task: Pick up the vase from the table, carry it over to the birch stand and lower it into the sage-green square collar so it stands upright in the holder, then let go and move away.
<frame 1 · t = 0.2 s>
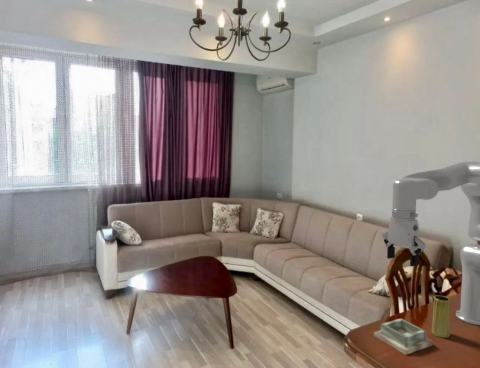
hand: (402, 261, 123), 31 cm above the table, tool pointing down, fingers open, 9 cm apart
vase stand: (402, 340, 128), on the table
vase: (440, 334, 133), on the table
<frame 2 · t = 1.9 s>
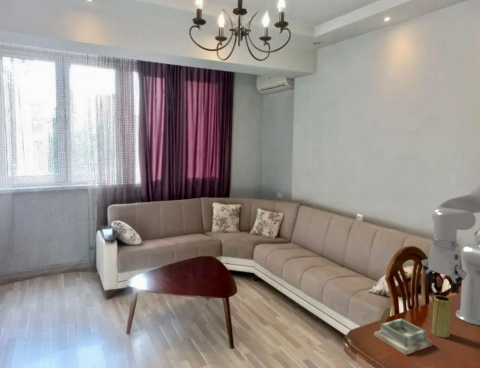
hand: (441, 288, 131), 18 cm above the table, tool pointing down, fingers open, 9 cm apart
nothing on the table moved.
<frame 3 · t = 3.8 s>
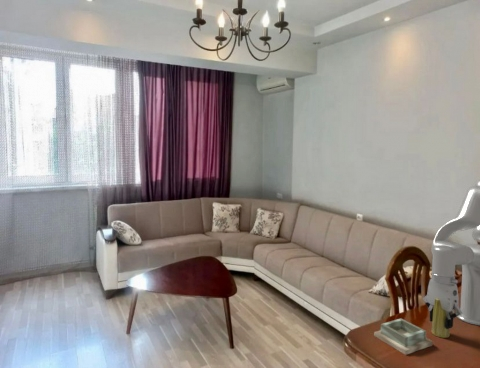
hand: (440, 323, 132), 4 cm above the table, tool pointing down, fingers closed on vase, 5 cm apart
vase: (440, 334, 133), on the table, touching gripper
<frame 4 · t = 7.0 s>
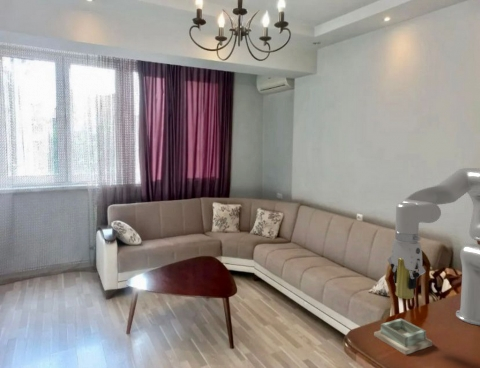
hand: (404, 285, 126), 21 cm above the table, tool pointing down, fingers closed on vase, 5 cm apart
vase: (404, 296, 127), point 17 cm above the table, touching gripper
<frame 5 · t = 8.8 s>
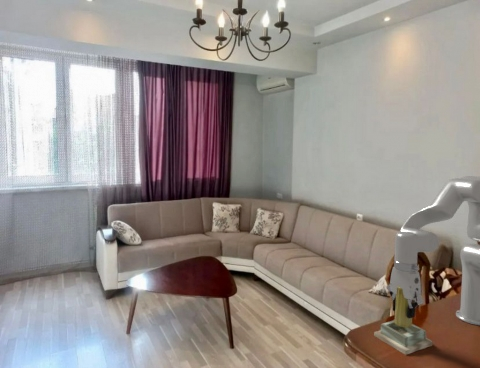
hand: (403, 313, 127), 10 cm above the table, tool pointing down, fingers closed on vase, 5 cm apart
vase: (402, 324, 128), point 6 cm above the table, touching gripper
when the fingers open (7 cm above the table, at t = 10.3 s): vase drops 2 cm, resting on vase stand.
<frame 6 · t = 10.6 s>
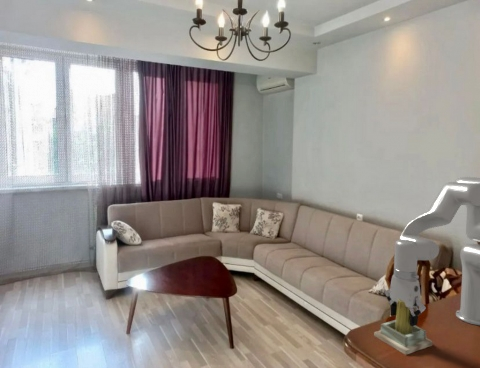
hand: (403, 319, 127), 8 cm above the table, tool pointing down, fingers open, 8 cm apart
vase: (403, 336, 128), point 1 cm above the table, touching vase stand
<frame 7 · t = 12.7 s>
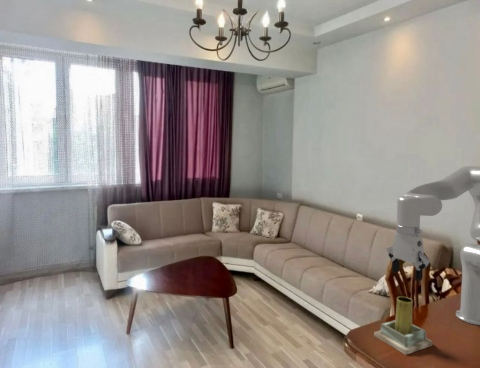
hand: (406, 275, 127), 24 cm above the table, tool pointing down, fingers open, 9 cm apart
nothing on the table moved.
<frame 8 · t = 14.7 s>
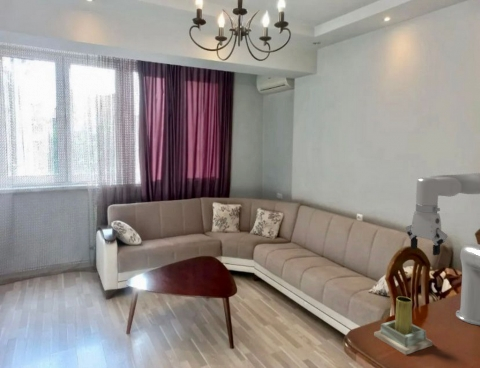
hand: (424, 251, 137), 30 cm above the table, tool pointing down, fingers open, 9 cm apart
nothing on the table moved.
at the end: vase 0.2 cm off-centre on the vase stand, point 1.3 cm above the vase stand's base; vase tilted 0°; the gripper is holding nothing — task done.
